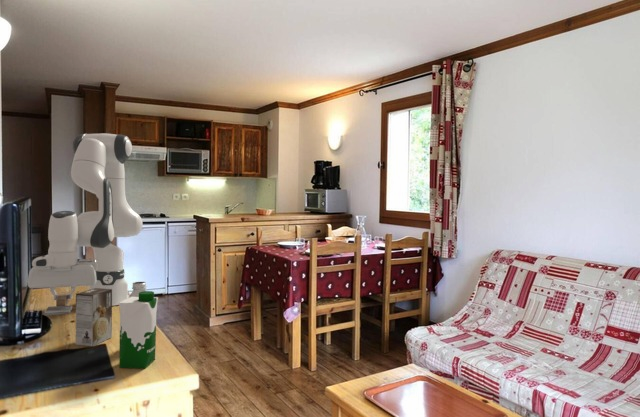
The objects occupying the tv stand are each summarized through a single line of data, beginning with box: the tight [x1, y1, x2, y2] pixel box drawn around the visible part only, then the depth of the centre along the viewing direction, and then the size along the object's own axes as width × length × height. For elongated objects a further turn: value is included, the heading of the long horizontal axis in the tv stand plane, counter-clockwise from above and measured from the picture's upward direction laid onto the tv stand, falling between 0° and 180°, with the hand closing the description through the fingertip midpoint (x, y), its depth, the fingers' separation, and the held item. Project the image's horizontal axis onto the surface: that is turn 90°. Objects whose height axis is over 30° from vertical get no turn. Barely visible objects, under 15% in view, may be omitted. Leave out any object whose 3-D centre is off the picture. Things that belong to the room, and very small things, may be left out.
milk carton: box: [118, 290, 159, 370], centre depth 125 cm, size 9×9×20 cm
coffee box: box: [75, 288, 113, 347], centre depth 143 cm, size 9×6×16 cm
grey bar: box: [43, 291, 74, 316], centre depth 150 cm, size 17×7×3 cm, turn 21°
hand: (63, 299), depth 153 cm, fingers closed on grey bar, 2 cm apart
